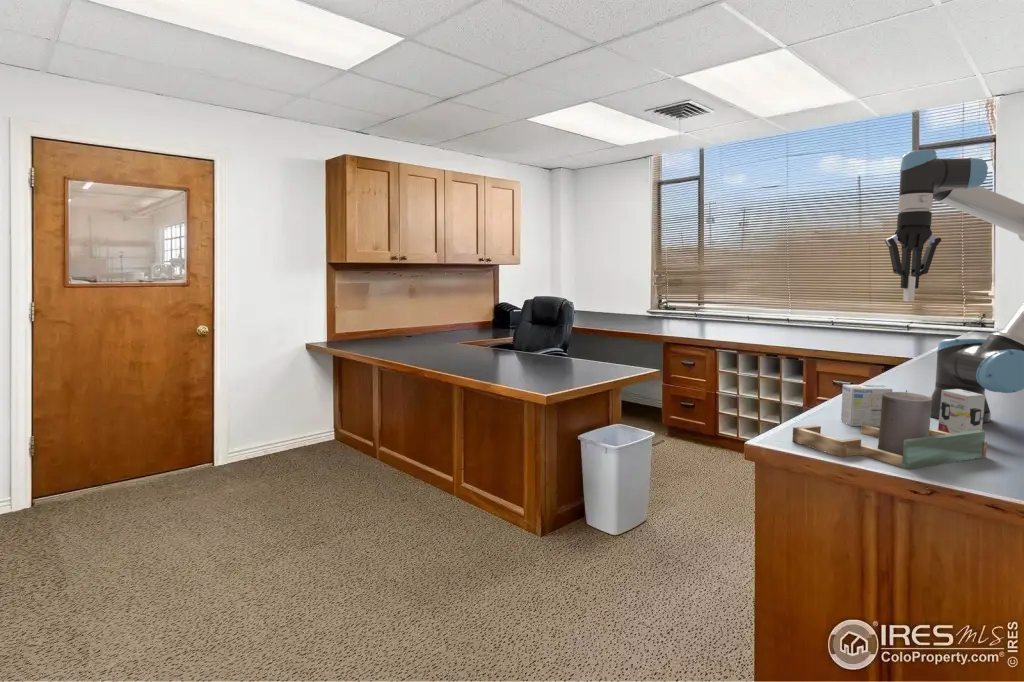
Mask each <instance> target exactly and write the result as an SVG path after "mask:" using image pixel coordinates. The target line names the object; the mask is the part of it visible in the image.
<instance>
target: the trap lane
mask: <svg viewBox="0 0 1024 682" xmlns="http://www.w3.org/2000/svg"><path fill="white" fill-rule="evenodd" d="M821 429H822V426H820V425H819V424H818V425H817V424H813V425H806V426H797V427H792V440H791V441H792V442H793V441H795V442H794V443H796V442H798V443H797V444H799V443H801V444H800V445H802V444H804V445H803V446H805V445H807V446H806V447H808V446H810V447H809V448H811V447H813V448H812V449H814V448H816V449H815V450H817V449H819V450H818V451H821V450H822V451H821V452H824V451H826V452H825V453H827V452H828V454H830V453H831V454H830V455H833V454H834V455H833V456H836V455H837V457H839V456H840V457H839V458H845V457H851V456H852V455H853V456H858V455H859V456H865V457H867V458H870V459H875V460H878V461H881V462H884V463H887V464H891V465H893V466H897V467H900V468H902V469H907V470H913V469H918V468H925V467H932V466H938V465H945V464H952V463H957V462H956V461H958V462H964V461H969V459H970V460H976V459H975V458H977V459H984V458H986V457H987V449H988V441H985V440H986V439H985V437H986V431H984V430H982V431H980V430H975V431H967V432H960V433H952V434H951V433H947V432H942V431H938V429H937V430H936V429H933V428H930V429H929V437H923V438H915V439H908V440H904V446H903V456H901V455H897V454H894V453H890V452H887V451H884V450H880V449H878V447H877V448H876V447H873V446H870V445H869V446H868V445H866V444H862V439H860V438H857V437H853V438H852V437H851V438H842V439H839V438H837V437H833V436H830V435H826V434H824V433H821V432H822V431H821ZM879 429H880V427H876V426H868V425H862V426H861V431H860V432H861V434H865V435H867V436H872V437H874V438H878V437H879ZM844 456H845V457H844ZM963 460H964V461H963ZM944 463H945V464H944Z"/></svg>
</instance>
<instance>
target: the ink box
mask: <svg viewBox="0 0 1024 682" xmlns="http://www.w3.org/2000/svg"><path fill="white" fill-rule="evenodd" d="M985 396H986V395H985ZM985 396H984V395H982V394H978V393H974V392H970V391H965V390H961V389H951V390H942V393H941V404H940V415H939V418H938V425H937V426H938V427H937V430H938V431H942V432H947V433H951V434H952V433H960V432H967V431H975V430H980V431H983V424H984V423H983V414H984V403H985Z"/></svg>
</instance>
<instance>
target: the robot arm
mask: <svg viewBox="0 0 1024 682" xmlns="http://www.w3.org/2000/svg"><path fill="white" fill-rule="evenodd" d="M900 163H901V164H900V170H899V172H900V175H899V176H900V177H899V178H900V179H899V192H898V193H899V194H898V203H897V205H898V206H897V211H898V214H897V222H896V230H895V232H894V235H892V236H891V237H888V238H885V239H884V243H885V244H886V246H887V247H888V250H889V256H890V257H889V258H890V262H891V267H892V271H893V274H894V275H899V277H900V289H903V294H902V295H903V296H902V301H903V302H914V301H915V292H916V289H919V286H920V285H919V284H920V283H919V282H920V277H921V276H923V275H926V274H928V273H929V270H930V267H931V264H932V261H933V258H934V256H935V252H936V250H937V246H938V245H939V244H940V243H941V241H942V238H941V237H936V235H933V231H932V230H931V227H932V226H931V225H932V219H933V218H932V216H933V212H932V211H931V210H932V209H933V202H934V201H937V202H939V203H941V204H944V205H946V206H949V207H951V208H953V209H956V210H958V211H961V212H963V213H966V214H968V215H971V216H973V217H975V218H977V219H980V220H981V221H982V220H983V221H985V222H987V223H989V224H992V225H995V226H997V227H999V228H1001V229H1004V230H1006V231H1008V232H1011V233H1014V234H1016V235H1018V238H1019V240H1020V241H1022V242H1024V203H1023V202H1020V201H1018V200H1015V199H1013V198H1010V197H1007V196H1005V195H1003V194H1000V193H998V192H995V191H993V190H991V189H989V188H985V187H984V186H982V185H983V183H984V182H986V179H987V177H988V169H989V168H988V167H989V166H988V164H987V162H986V160H984V159H983V158H975V157H973V158H972V157H968V158H967V157H966V158H965V157H964V158H959V157H958V158H938V156H937V152H936V150H934V149H930V148H929V149H916V150H910V151H908V152H906V153H905V154H903V155H902V158H901V162H900ZM898 242H899V244H900V245H901V257H900V252H899V251H900V250H899V247H898V246H899V245H898ZM926 242H927V245H926V248H925V251H924V254H923V250H924V245H925V244H926ZM922 256H923V257H922ZM910 275H911V276H910ZM936 355H937V358H936V369H935V371H936V372H935V386H934V390H933V392H932V395H931V396H930V397H931V398H932V405H931V416H930V418H936V419H939V415H940V404H941V393H942V390H951V389H961V390H965V391H970V392H974V393H978V394H982V395H984V396H985V403H984V414H983V424H984V423H989V422H991V414H992V413H991V410H990V406H989V404H988V399H987V396H986V391H989V392H993V393H1001V394H1002V393H1003V394H1012V393H1018V392H1020V391H1023V390H1024V301H1023V303H1022V304H1021V306H1019V308H1018V309H1017V310H1016V312H1014V314H1013V315H1012V316H1011V318H1010V319H1009V321H1008V322H1007V323H1006V324H1005V326H1004V327H1003V328H1002V329H1001V330H1000V331H997V332H996V331H995V332H992V333H990V334H989V335H988V336H987V337H986V338H947V339H942V340H940V341H939V343H938V347H937V351H936Z"/></svg>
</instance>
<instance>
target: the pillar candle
mask: <svg viewBox="0 0 1024 682" xmlns="http://www.w3.org/2000/svg"><path fill="white" fill-rule="evenodd" d="M931 405H932V398H931V396H927V395H924V394H920V393H913V392H908V390H905V391H892V392H886V393H883V394H882V405H881V419H880V427H879V428H880V429H879V438H878V444H877V449H880V450H884V451H887V452H890V453H894V454H897V455H901V456H903V446H904V440H908V439H915V438H923V437H929V429H931V428H930V427H931Z"/></svg>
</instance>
